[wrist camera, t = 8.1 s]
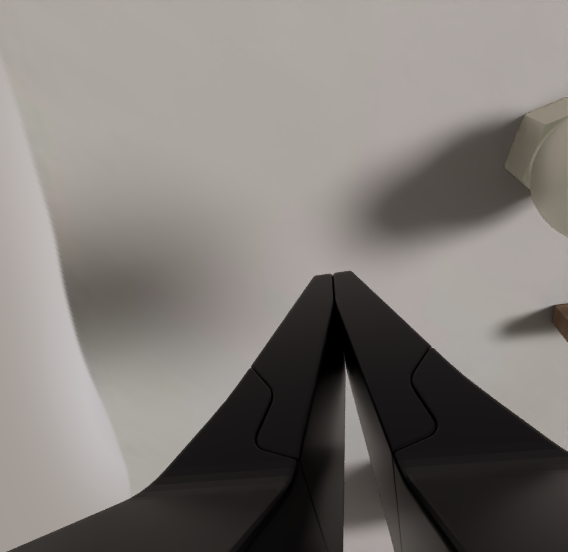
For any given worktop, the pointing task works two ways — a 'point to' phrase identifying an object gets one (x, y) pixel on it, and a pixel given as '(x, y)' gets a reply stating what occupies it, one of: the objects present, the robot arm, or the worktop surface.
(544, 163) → the valve
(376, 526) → the worktop surface
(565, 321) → the carrier bracket
